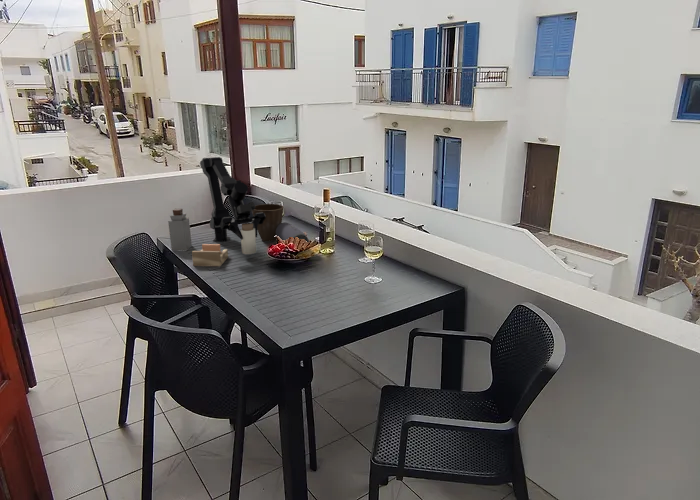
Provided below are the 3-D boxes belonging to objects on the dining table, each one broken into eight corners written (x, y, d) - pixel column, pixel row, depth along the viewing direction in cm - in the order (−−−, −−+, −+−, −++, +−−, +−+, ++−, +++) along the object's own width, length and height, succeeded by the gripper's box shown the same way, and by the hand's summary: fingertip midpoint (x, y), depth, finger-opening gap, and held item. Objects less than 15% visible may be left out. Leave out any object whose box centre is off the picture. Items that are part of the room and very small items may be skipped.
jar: (243, 249, 201) (242, 222, 197) (257, 249, 201) (256, 222, 197) (240, 254, 195) (238, 226, 192) (254, 254, 195) (252, 226, 191)
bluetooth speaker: (310, 253, 205) (310, 231, 202) (290, 256, 201) (289, 234, 198) (293, 240, 225) (293, 220, 221) (275, 242, 221) (274, 222, 218)
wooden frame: (202, 256, 200) (201, 243, 199) (228, 257, 200) (227, 243, 198) (193, 265, 190) (191, 251, 188) (220, 266, 189) (219, 252, 187)
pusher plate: (204, 258, 197) (202, 244, 195) (221, 259, 197) (220, 244, 195) (203, 259, 196) (202, 244, 194) (220, 259, 196) (219, 245, 194)
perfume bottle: (186, 250, 209) (182, 211, 204) (171, 250, 209) (166, 211, 204) (191, 246, 215) (187, 207, 210) (177, 245, 216) (172, 207, 210)
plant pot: (250, 237, 229) (248, 205, 224) (279, 234, 235) (278, 202, 230) (258, 245, 216) (255, 211, 211) (289, 241, 222) (287, 208, 217)
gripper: (220, 198, 189) (232, 231, 184) (262, 193, 199) (275, 224, 194) (215, 213, 198) (226, 245, 192) (256, 208, 208) (268, 238, 202)
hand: (249, 237), depth 195 cm, fingers closed on jar, 6 cm apart
